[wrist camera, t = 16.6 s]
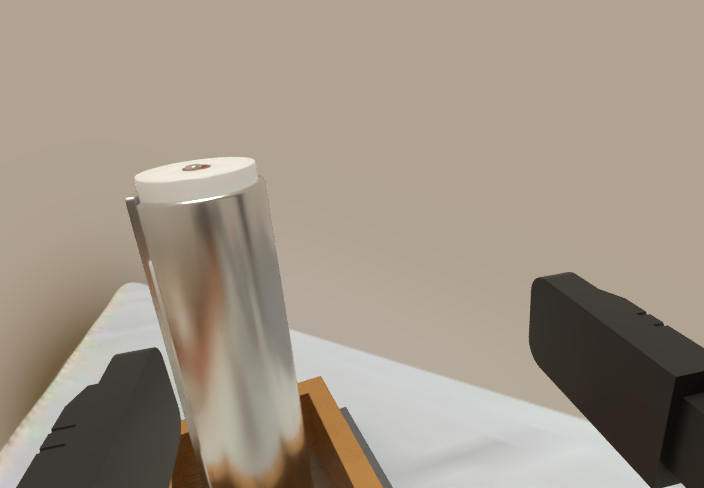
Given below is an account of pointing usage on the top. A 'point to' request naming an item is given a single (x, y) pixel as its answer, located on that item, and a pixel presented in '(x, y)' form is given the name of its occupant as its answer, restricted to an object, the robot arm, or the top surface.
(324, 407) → the dock
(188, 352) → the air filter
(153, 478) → the robot arm
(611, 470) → the top surface
